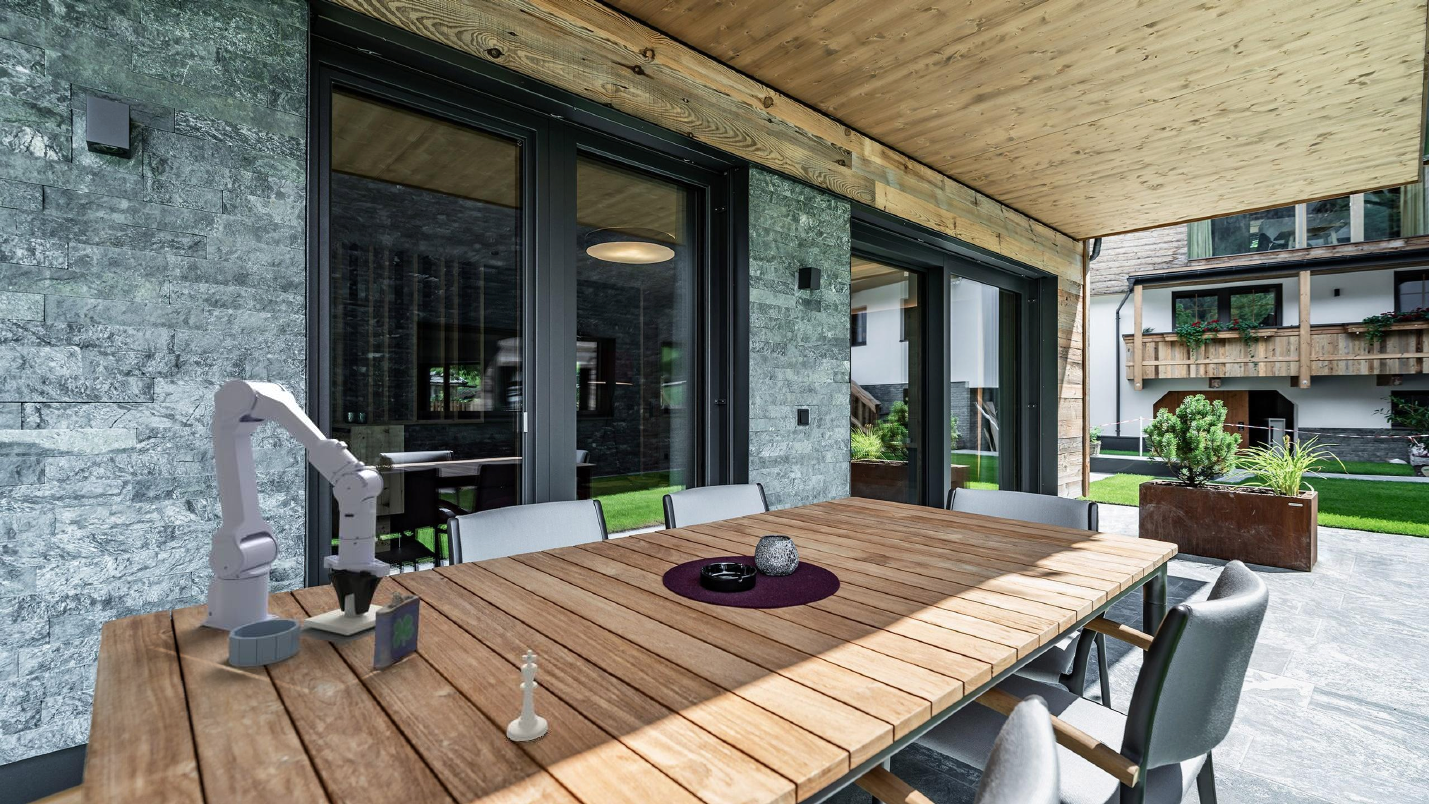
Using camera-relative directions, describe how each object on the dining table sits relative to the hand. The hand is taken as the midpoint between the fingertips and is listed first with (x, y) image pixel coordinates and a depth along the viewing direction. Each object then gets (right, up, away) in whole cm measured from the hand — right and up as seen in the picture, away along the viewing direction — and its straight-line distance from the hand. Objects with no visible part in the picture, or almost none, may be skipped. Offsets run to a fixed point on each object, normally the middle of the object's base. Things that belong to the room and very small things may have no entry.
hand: (354, 611), depth 112 cm
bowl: (-6, -2, -14) cm, 16 cm away
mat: (0, -3, 0) cm, 3 cm away
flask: (+15, -3, -14) cm, 21 cm away
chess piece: (+42, -3, -35) cm, 55 cm away
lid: (0, -2, 0) cm, 2 cm away
